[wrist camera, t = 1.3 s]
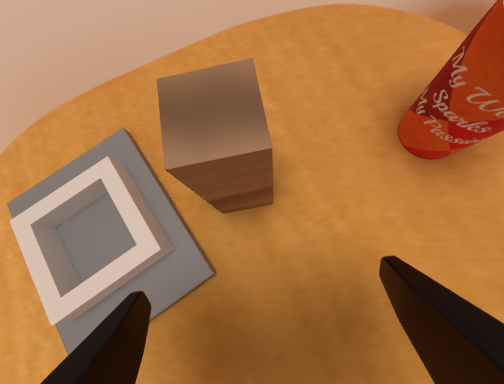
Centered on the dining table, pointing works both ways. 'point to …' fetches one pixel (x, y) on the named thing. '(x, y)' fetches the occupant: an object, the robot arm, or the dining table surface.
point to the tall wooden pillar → (218, 135)
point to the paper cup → (461, 95)
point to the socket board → (104, 239)
